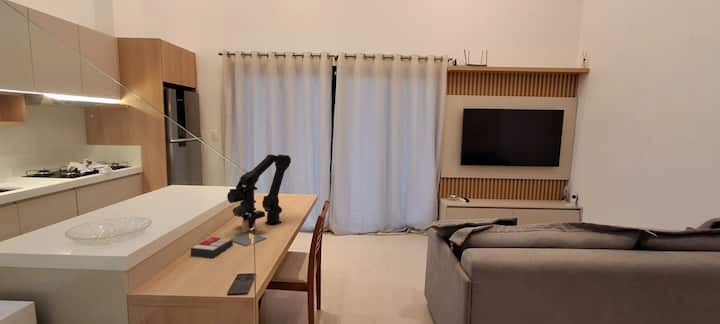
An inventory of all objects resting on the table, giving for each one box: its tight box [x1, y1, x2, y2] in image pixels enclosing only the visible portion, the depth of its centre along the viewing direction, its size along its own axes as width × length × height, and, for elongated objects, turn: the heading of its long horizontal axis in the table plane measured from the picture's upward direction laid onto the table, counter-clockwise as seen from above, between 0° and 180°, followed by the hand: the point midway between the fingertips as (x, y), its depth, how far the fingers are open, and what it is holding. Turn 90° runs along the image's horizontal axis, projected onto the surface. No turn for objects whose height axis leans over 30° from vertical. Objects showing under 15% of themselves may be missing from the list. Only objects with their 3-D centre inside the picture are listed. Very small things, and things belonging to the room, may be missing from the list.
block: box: [241, 219, 257, 234], centre depth 176 cm, size 7×2×6 cm, turn 147°
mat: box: [230, 232, 267, 247], centre depth 164 cm, size 12×13×1 cm
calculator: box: [190, 236, 234, 259], centre depth 150 cm, size 11×4×15 cm
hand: (249, 228), depth 176 cm, fingers closed on block, 2 cm apart
